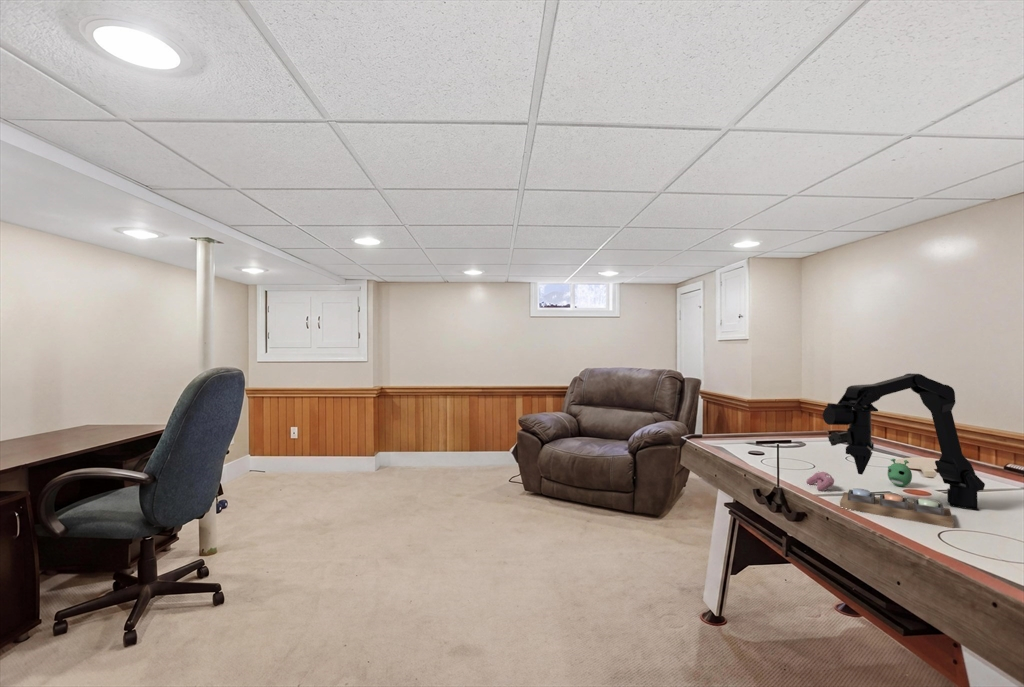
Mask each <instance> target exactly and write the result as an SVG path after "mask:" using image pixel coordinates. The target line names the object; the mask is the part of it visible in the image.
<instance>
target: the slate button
mask: <svg viewBox="0 0 1024 687" xmlns="http://www.w3.org/2000/svg"><path fill="white" fill-rule="evenodd" d="M852 490H853V494H855V495H862V496H868V497H870V493H871V490H868V489H865V488H864V489H863V488H852Z"/></svg>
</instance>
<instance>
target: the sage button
mask: <svg viewBox="0 0 1024 687" xmlns="http://www.w3.org/2000/svg"><path fill="white" fill-rule="evenodd" d="M917 500H918V502H919V505H925V506H932V507H938V503H939V501H937V500H935V499H930V498H923V497H922V498H918V499H917Z"/></svg>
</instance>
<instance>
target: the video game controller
mask: <svg viewBox="0 0 1024 687" xmlns="http://www.w3.org/2000/svg"><path fill="white" fill-rule="evenodd" d="M808 484H809V485H808ZM815 484H816V490H817V491H818V492H823V491H826V490H828V489H829V488H831V487H832V486H833V485H834V484H835V479H834V477H832V475H831V474H829V473H828V472H826V471H818V472H816V473H814V474H813V475H811V476H810V477H808V479H806V485H808V486H812V485H815Z"/></svg>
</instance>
